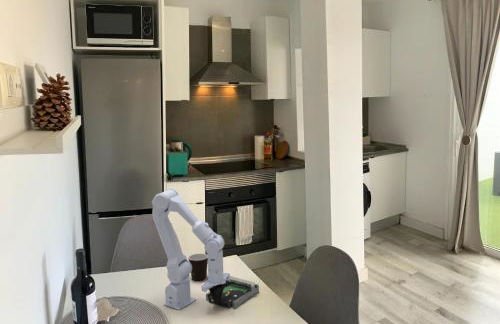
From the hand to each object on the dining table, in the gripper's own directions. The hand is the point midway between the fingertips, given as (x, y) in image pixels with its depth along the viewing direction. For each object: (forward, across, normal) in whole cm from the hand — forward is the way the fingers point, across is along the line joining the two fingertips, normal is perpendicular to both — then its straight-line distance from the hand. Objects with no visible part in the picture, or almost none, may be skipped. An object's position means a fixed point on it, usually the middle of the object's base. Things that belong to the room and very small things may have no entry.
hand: (216, 302), depth 156 cm
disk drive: (+2, +8, 0) cm, 8 cm away
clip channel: (+1, +10, 0) cm, 10 cm away
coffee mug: (+2, +17, +24) cm, 30 cm away
